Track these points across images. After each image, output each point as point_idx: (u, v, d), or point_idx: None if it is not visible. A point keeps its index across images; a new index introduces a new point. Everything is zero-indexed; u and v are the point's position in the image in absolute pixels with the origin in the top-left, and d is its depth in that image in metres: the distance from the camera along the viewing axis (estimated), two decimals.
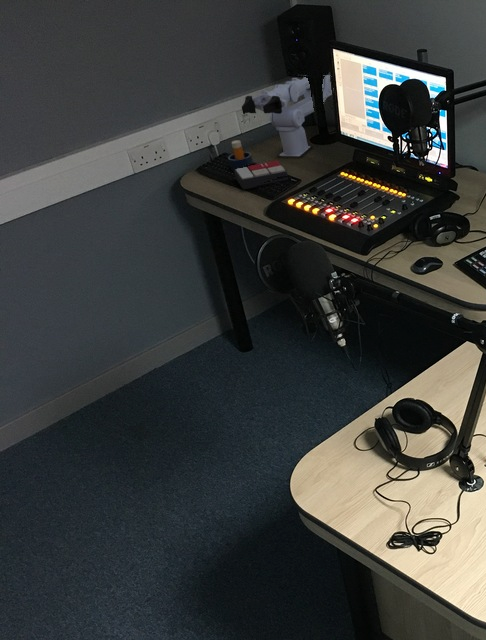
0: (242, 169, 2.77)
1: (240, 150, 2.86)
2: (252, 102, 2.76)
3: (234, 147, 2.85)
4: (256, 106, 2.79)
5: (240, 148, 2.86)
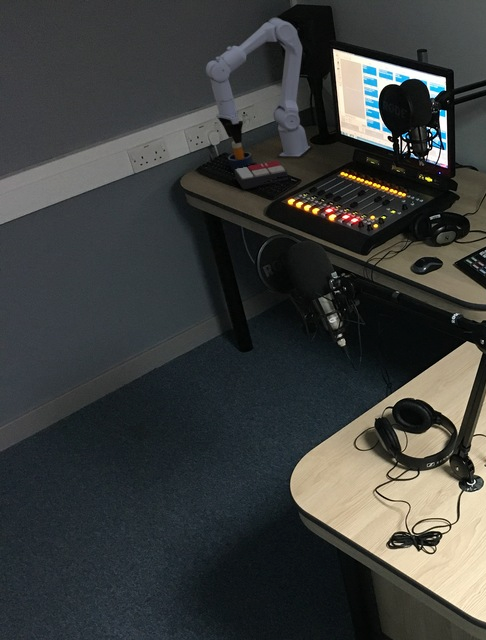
0: (242, 169, 2.77)
1: (240, 150, 2.86)
2: (224, 119, 2.83)
3: (234, 147, 2.85)
4: None
5: (240, 148, 2.86)
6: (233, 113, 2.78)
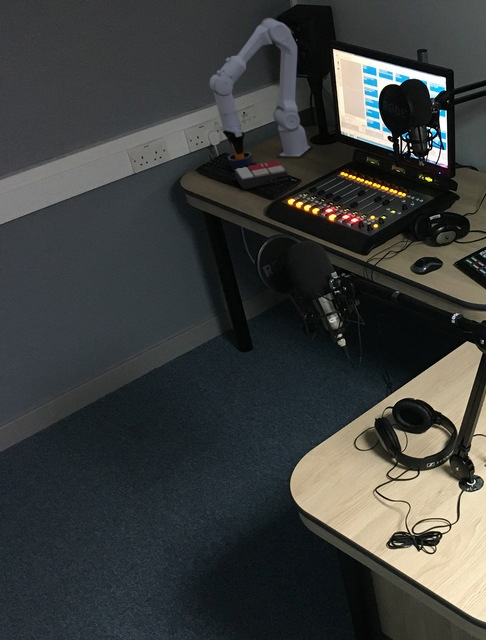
0: (242, 169, 2.77)
1: None
2: (230, 133, 2.84)
3: None
4: None
5: None
6: (236, 126, 2.80)
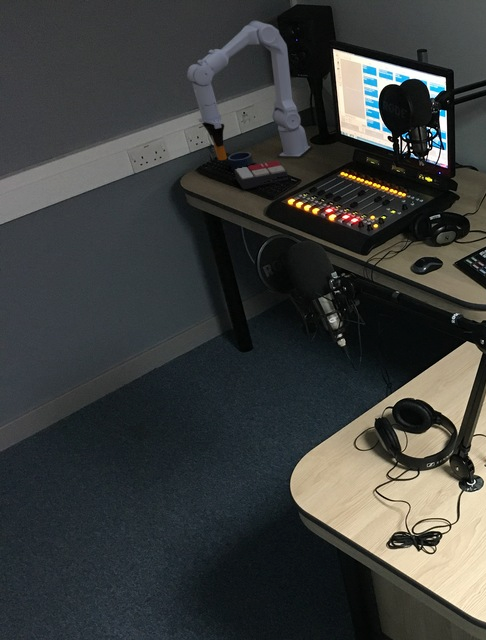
0: (242, 169, 2.77)
1: None
2: (209, 125, 2.77)
3: None
4: None
5: None
6: (216, 117, 2.73)
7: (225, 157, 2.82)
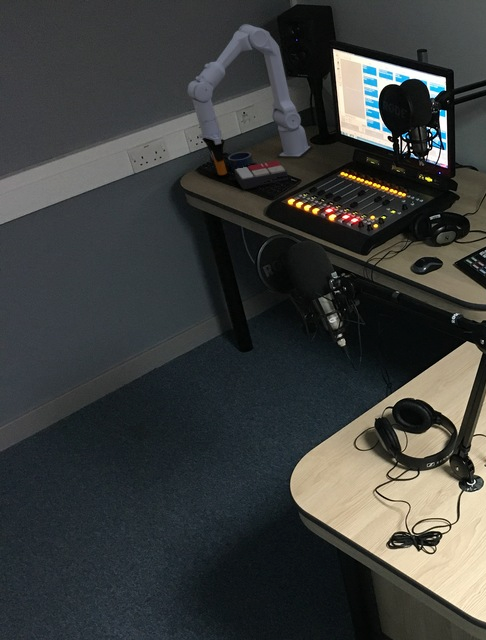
0: (242, 169, 2.77)
1: None
2: (209, 140, 2.78)
3: None
4: None
5: None
6: (216, 133, 2.74)
7: (225, 172, 2.83)
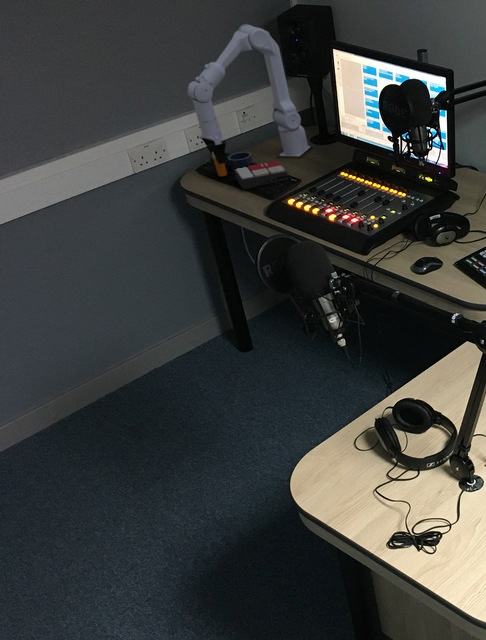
0: (242, 169, 2.77)
1: None
2: (208, 139, 2.80)
3: (214, 157, 2.79)
4: None
5: None
6: (216, 133, 2.74)
7: (226, 174, 2.84)
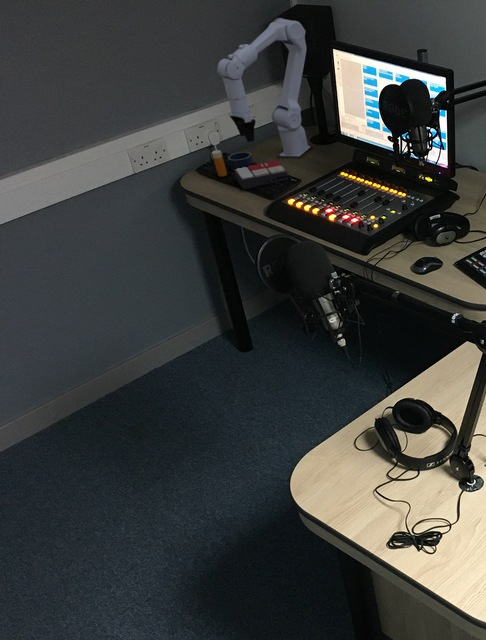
0: (242, 169, 2.77)
1: (221, 160, 2.80)
2: (237, 117, 2.82)
3: (214, 157, 2.79)
4: None
5: (221, 158, 2.80)
6: (245, 111, 2.76)
7: (226, 174, 2.84)
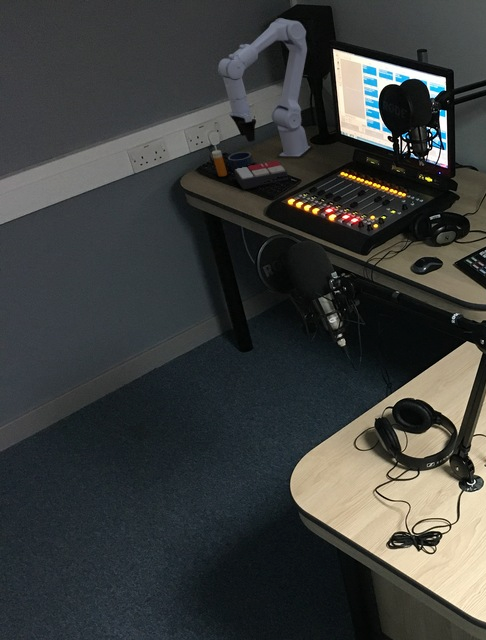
0: (242, 169, 2.77)
1: (221, 160, 2.80)
2: (237, 117, 2.82)
3: (214, 157, 2.79)
4: None
5: (221, 158, 2.80)
6: (246, 111, 2.76)
7: (226, 174, 2.84)
